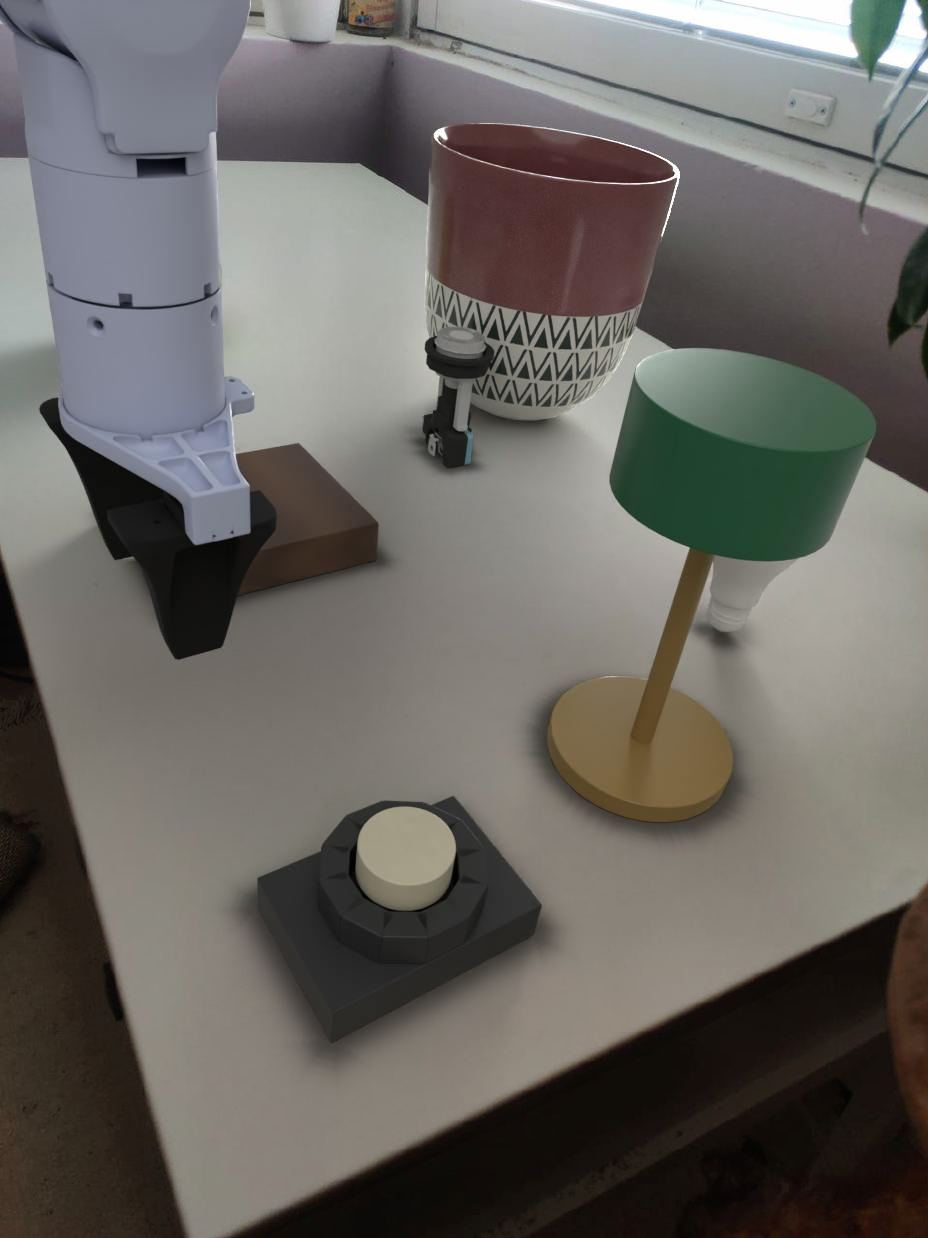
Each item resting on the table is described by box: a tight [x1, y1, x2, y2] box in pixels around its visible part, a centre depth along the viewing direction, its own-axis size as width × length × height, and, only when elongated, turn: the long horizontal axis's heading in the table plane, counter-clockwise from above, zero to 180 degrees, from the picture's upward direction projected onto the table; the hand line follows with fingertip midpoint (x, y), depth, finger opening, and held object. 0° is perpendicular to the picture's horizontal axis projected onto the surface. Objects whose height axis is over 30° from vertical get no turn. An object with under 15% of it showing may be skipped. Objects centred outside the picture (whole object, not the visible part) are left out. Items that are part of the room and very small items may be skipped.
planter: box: [424, 122, 680, 421], centre depth 79 cm, size 20×20×21 cm
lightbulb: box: [705, 555, 800, 633], centre depth 58 cm, size 6×6×11 cm
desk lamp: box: [546, 347, 877, 823], centre depth 45 cm, size 10×10×21 cm
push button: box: [420, 326, 494, 468], centre depth 74 cm, size 7×5×10 cm
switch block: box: [256, 795, 543, 1043], centre depth 40 cm, size 10×7×4 cm
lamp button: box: [355, 807, 456, 911], centre depth 38 cm, size 4×4×2 cm
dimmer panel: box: [121, 442, 380, 596], centre depth 61 cm, size 16×14×3 cm
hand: (163, 597), depth 40 cm, fingers open, 7 cm apart
